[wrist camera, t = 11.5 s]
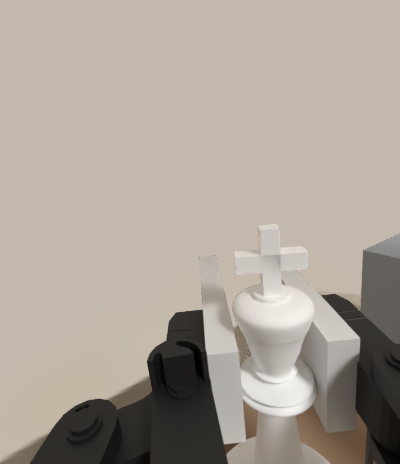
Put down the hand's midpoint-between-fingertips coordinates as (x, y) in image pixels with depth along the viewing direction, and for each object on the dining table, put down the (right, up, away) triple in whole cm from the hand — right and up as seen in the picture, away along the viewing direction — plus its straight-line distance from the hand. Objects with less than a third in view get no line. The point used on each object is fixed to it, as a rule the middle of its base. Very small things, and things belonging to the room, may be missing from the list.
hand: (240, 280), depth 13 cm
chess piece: (+1, -7, -4) cm, 8 cm away
